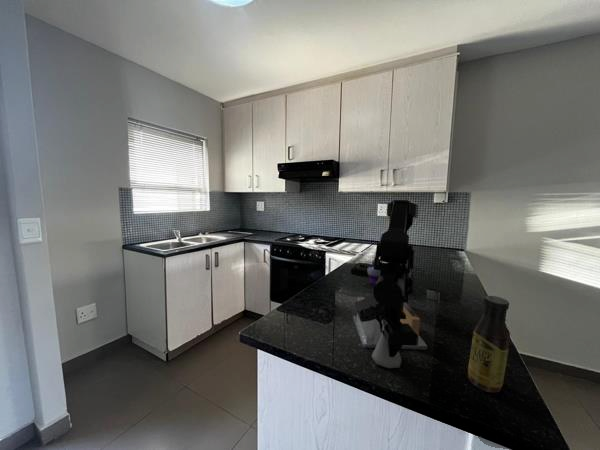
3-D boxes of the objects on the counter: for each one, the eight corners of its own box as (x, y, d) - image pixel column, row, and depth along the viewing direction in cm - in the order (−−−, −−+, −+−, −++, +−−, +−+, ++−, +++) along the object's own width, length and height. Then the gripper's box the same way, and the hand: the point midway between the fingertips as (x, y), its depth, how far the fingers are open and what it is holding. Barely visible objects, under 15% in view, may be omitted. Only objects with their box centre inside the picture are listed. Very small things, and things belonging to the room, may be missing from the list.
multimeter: (357, 268, 141) (358, 260, 140) (393, 274, 132) (394, 265, 131) (350, 275, 130) (350, 265, 129) (389, 281, 120) (389, 271, 120)
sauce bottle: (460, 374, 58) (468, 292, 55) (485, 373, 58) (494, 291, 56) (483, 397, 51) (493, 305, 49) (511, 395, 52) (523, 304, 50)
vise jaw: (399, 318, 82) (401, 294, 81) (418, 343, 68) (420, 315, 67) (393, 317, 82) (395, 294, 81) (410, 343, 68) (412, 315, 67)
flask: (404, 371, 58) (407, 331, 57) (372, 366, 60) (374, 327, 59) (399, 352, 66) (401, 316, 64) (370, 348, 67) (372, 313, 66)
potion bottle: (378, 289, 110) (379, 262, 108) (362, 283, 116) (363, 258, 115) (389, 284, 115) (391, 259, 114) (373, 279, 122) (374, 255, 120)
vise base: (404, 319, 83) (406, 296, 82) (427, 349, 67) (429, 321, 66) (353, 318, 84) (354, 295, 83) (363, 347, 68) (364, 319, 67)
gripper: (351, 276, 70) (350, 328, 72) (366, 306, 52) (363, 376, 54) (392, 277, 70) (389, 329, 72) (421, 308, 51) (416, 377, 53)
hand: (388, 349), depth 62 cm, fingers closed on flask, 5 cm apart
